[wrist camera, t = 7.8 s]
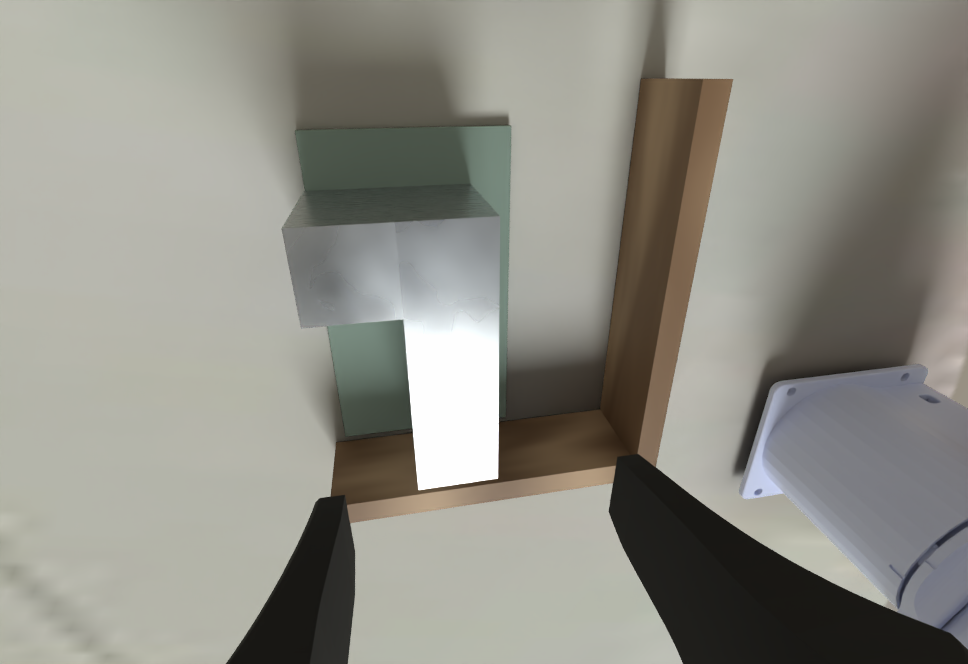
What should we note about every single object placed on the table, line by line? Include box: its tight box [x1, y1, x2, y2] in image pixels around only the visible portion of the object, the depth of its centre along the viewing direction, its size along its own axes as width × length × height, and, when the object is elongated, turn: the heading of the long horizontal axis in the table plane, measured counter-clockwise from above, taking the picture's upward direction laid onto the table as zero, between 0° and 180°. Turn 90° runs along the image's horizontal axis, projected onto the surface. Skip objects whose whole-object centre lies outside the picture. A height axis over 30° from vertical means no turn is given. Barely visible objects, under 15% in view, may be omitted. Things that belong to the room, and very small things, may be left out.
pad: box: [295, 125, 511, 437], centre depth 21 cm, size 8×13×1 cm, turn 0°
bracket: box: [282, 184, 500, 490], centre depth 18 cm, size 10×6×5 cm, turn 0°
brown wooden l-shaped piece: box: [331, 78, 733, 523], centre depth 19 cm, size 14×16×4 cm
